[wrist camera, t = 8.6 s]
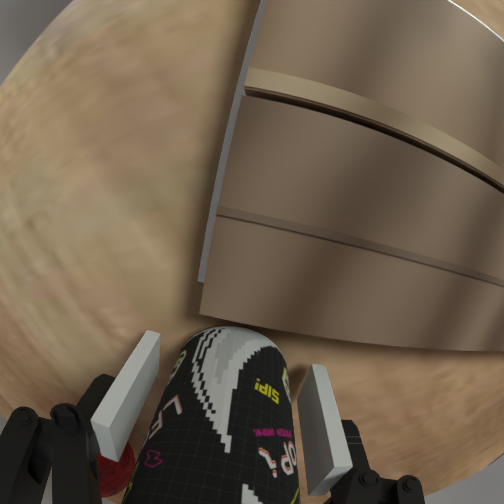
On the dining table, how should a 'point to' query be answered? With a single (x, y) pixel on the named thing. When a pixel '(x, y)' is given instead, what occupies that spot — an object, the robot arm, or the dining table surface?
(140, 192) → the dining table surface
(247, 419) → the beverage can
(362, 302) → the laid board
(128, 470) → the pomegranate
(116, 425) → the robot arm
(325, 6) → the plank
